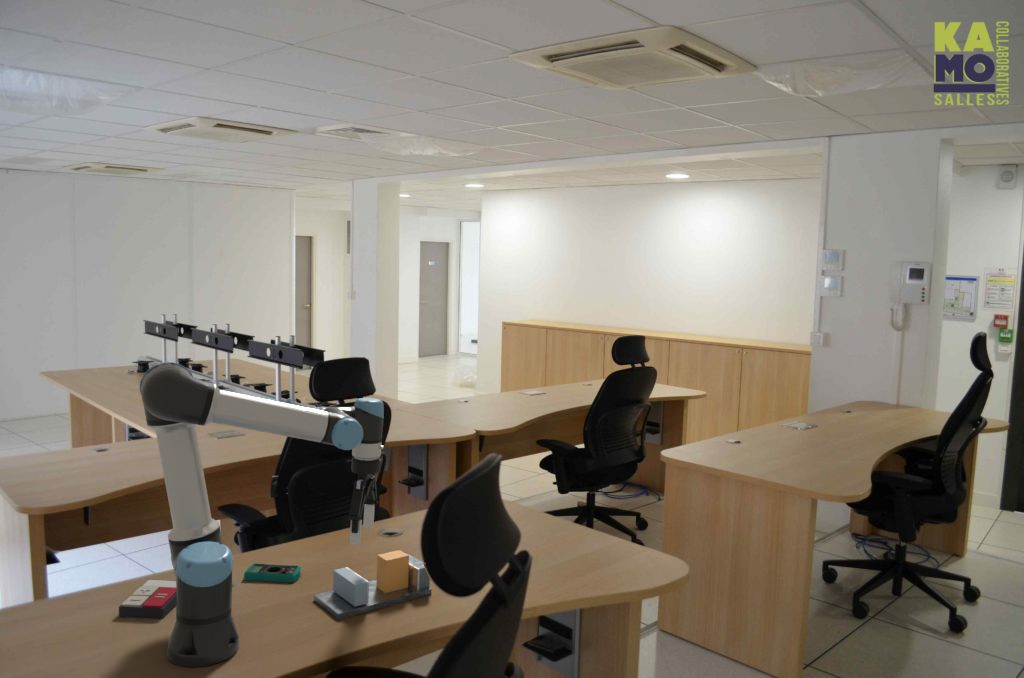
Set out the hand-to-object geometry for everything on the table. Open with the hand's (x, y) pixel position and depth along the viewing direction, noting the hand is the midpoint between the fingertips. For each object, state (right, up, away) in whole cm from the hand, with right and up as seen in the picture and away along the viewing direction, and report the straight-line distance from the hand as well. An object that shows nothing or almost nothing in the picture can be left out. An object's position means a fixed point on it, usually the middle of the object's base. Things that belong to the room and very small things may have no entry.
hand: (361, 536), depth 201 cm
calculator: (-52, -17, -7) cm, 55 cm away
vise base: (+2, -18, +4) cm, 18 cm away
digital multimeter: (-28, -16, +15) cm, 36 cm away
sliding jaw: (-3, -16, -1) cm, 16 cm away
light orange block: (+7, -16, +7) cm, 19 cm away
